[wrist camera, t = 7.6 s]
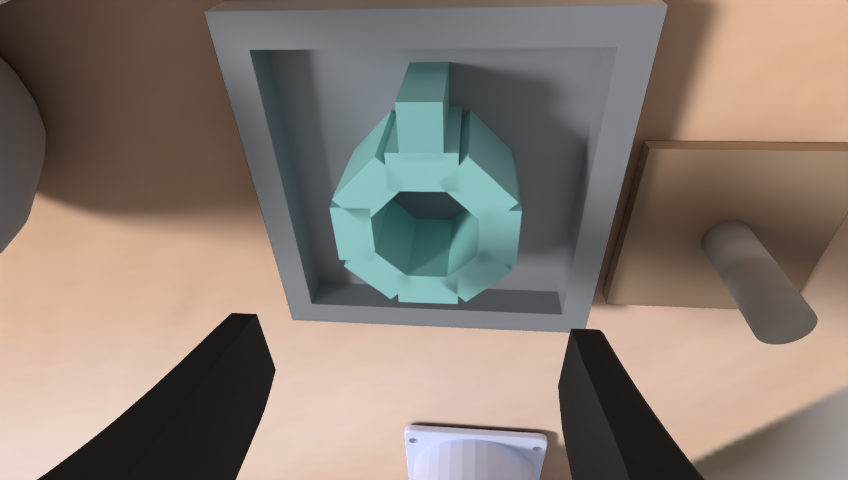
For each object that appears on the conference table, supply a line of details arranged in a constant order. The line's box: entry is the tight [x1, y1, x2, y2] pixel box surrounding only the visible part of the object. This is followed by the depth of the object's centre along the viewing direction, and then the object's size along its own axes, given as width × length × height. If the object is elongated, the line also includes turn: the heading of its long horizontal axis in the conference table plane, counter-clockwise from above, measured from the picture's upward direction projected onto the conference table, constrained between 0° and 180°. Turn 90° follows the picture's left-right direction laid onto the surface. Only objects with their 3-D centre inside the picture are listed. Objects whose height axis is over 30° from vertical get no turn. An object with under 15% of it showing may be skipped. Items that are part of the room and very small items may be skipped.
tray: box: [204, 0, 668, 333], centre depth 17 cm, size 12×12×2 cm
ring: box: [329, 62, 522, 304], centre depth 15 cm, size 7×6×3 cm
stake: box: [603, 141, 848, 344], centre depth 16 cm, size 7×7×5 cm
